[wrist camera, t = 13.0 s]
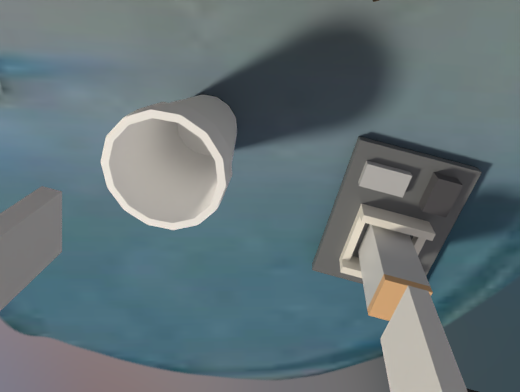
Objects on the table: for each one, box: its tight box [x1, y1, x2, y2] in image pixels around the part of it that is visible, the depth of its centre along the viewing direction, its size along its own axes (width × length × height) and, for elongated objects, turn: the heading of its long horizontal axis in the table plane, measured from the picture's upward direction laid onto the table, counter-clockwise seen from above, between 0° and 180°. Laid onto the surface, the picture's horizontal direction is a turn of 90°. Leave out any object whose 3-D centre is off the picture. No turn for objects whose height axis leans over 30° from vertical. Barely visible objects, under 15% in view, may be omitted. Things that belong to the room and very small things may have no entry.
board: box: [312, 136, 482, 284], centre depth 41 cm, size 16×12×4 cm
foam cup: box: [101, 95, 237, 230], centre depth 35 cm, size 10×9×13 cm
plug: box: [358, 224, 433, 321], centre depth 38 cm, size 4×4×10 cm
